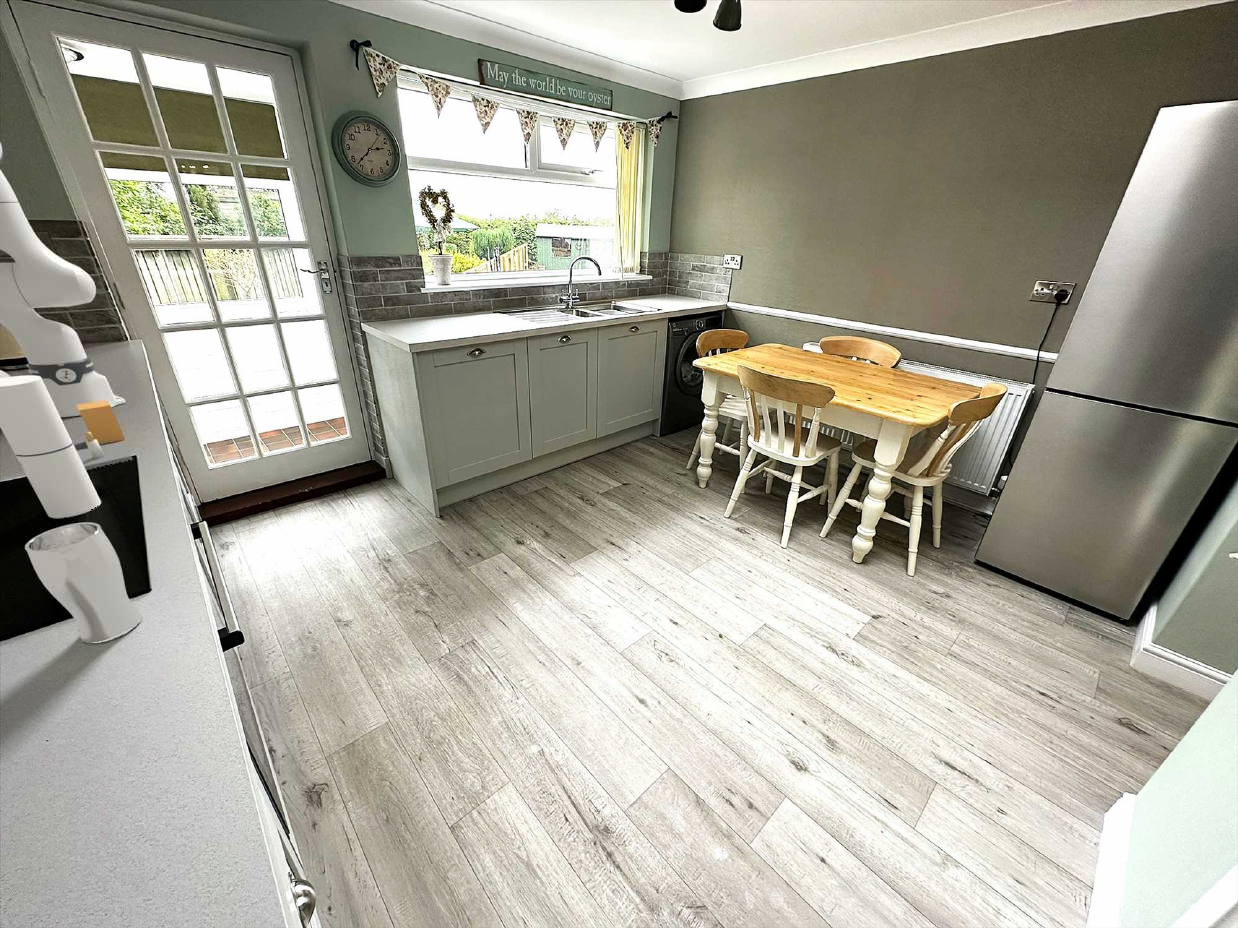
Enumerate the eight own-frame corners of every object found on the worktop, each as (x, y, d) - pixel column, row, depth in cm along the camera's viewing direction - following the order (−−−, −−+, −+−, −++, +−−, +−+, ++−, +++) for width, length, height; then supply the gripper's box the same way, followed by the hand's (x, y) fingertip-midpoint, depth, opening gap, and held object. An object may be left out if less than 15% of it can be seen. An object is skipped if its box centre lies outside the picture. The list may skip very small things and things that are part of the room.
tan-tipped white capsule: (92, 457, 112) (81, 432, 109) (103, 454, 113) (92, 430, 111) (93, 459, 111) (82, 434, 108) (104, 457, 112) (93, 432, 110)
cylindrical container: (67, 520, 91) (-2, 388, 80) (37, 515, 92) (-35, 385, 81) (111, 501, 97) (52, 377, 86) (82, 497, 98) (20, 374, 87)
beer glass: (76, 626, 68) (23, 534, 61) (144, 603, 72) (101, 515, 66) (77, 655, 63) (19, 560, 57) (149, 628, 68) (103, 537, 61)
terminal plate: (65, 457, 114) (63, 453, 113) (124, 445, 121) (122, 441, 120) (71, 473, 107) (69, 469, 106) (133, 459, 114) (131, 455, 113)
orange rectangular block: (92, 439, 123) (76, 405, 119) (121, 433, 127) (107, 400, 123) (95, 445, 120) (79, 410, 116) (125, 439, 124) (110, 405, 120)
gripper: (-48, 363, 96) (49, 400, 107) (-44, 346, 108) (42, 381, 119) (-72, 389, 95) (28, 425, 106) (-66, 369, 107) (24, 403, 118)
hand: (36, 401), depth 112 cm, fingers open, 8 cm apart
